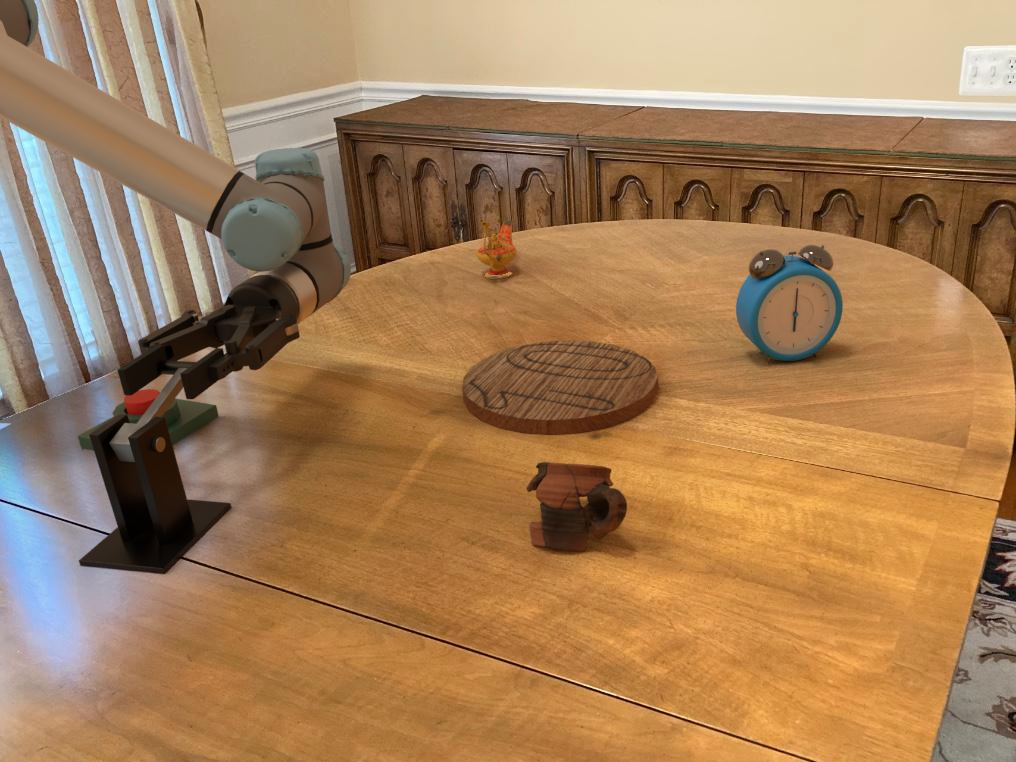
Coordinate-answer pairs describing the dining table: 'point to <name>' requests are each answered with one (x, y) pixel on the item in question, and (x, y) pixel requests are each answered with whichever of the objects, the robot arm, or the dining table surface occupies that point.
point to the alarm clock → (789, 303)
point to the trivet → (560, 387)
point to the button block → (168, 420)
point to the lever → (151, 407)
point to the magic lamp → (497, 249)
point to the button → (140, 401)
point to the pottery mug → (574, 505)
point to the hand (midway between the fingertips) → (155, 384)
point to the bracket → (147, 502)
